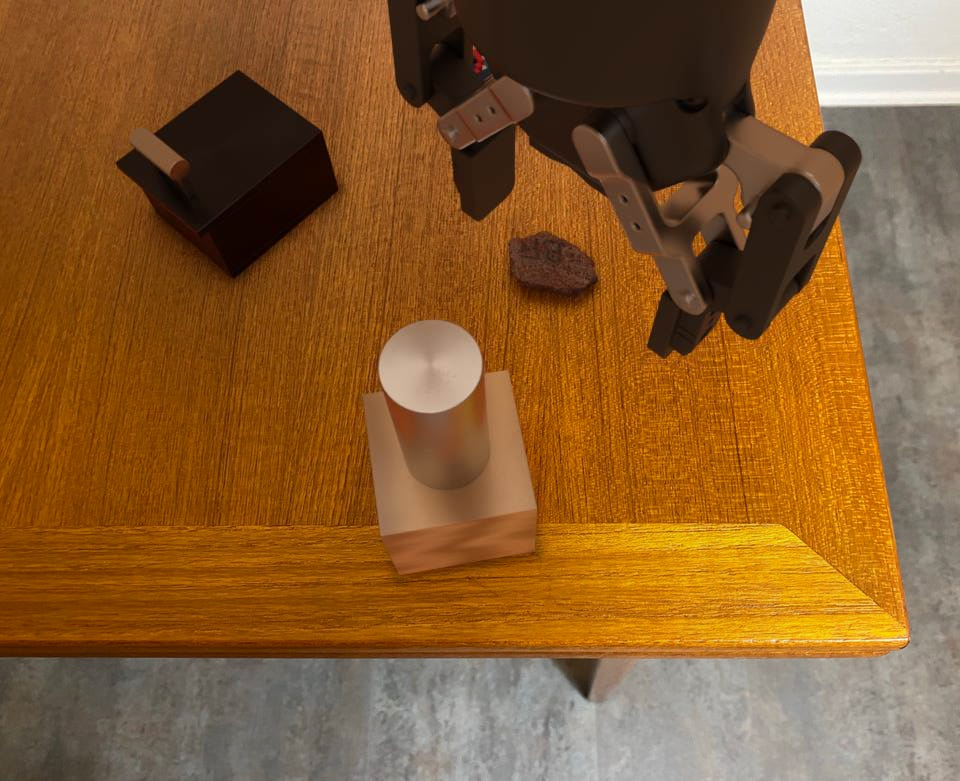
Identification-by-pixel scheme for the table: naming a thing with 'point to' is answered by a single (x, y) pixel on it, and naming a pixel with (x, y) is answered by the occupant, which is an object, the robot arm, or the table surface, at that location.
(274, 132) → the lid
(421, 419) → the canister
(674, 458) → the table surface
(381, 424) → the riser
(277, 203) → the dark brown box
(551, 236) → the stone
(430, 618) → the table surface
